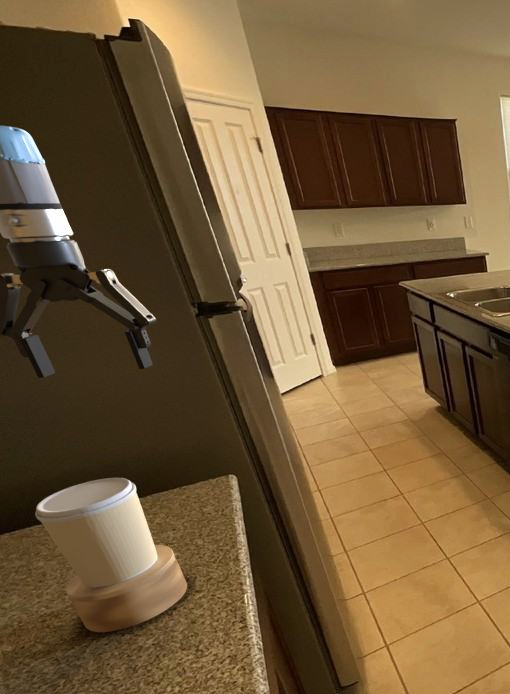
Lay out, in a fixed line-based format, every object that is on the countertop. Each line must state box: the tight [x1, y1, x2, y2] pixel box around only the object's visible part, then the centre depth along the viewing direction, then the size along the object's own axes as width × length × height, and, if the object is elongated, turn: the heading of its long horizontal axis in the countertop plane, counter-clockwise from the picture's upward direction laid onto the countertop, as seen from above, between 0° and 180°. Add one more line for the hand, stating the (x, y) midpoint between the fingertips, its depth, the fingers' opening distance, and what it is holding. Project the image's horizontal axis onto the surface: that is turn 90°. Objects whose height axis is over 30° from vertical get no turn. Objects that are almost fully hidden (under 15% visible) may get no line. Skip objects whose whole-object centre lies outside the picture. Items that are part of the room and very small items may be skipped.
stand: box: [64, 544, 188, 633], centre depth 73 cm, size 11×11×6 cm
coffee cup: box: [34, 477, 157, 587], centre depth 70 cm, size 9×9×12 cm
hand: (97, 371), depth 88 cm, fingers open, 13 cm apart
